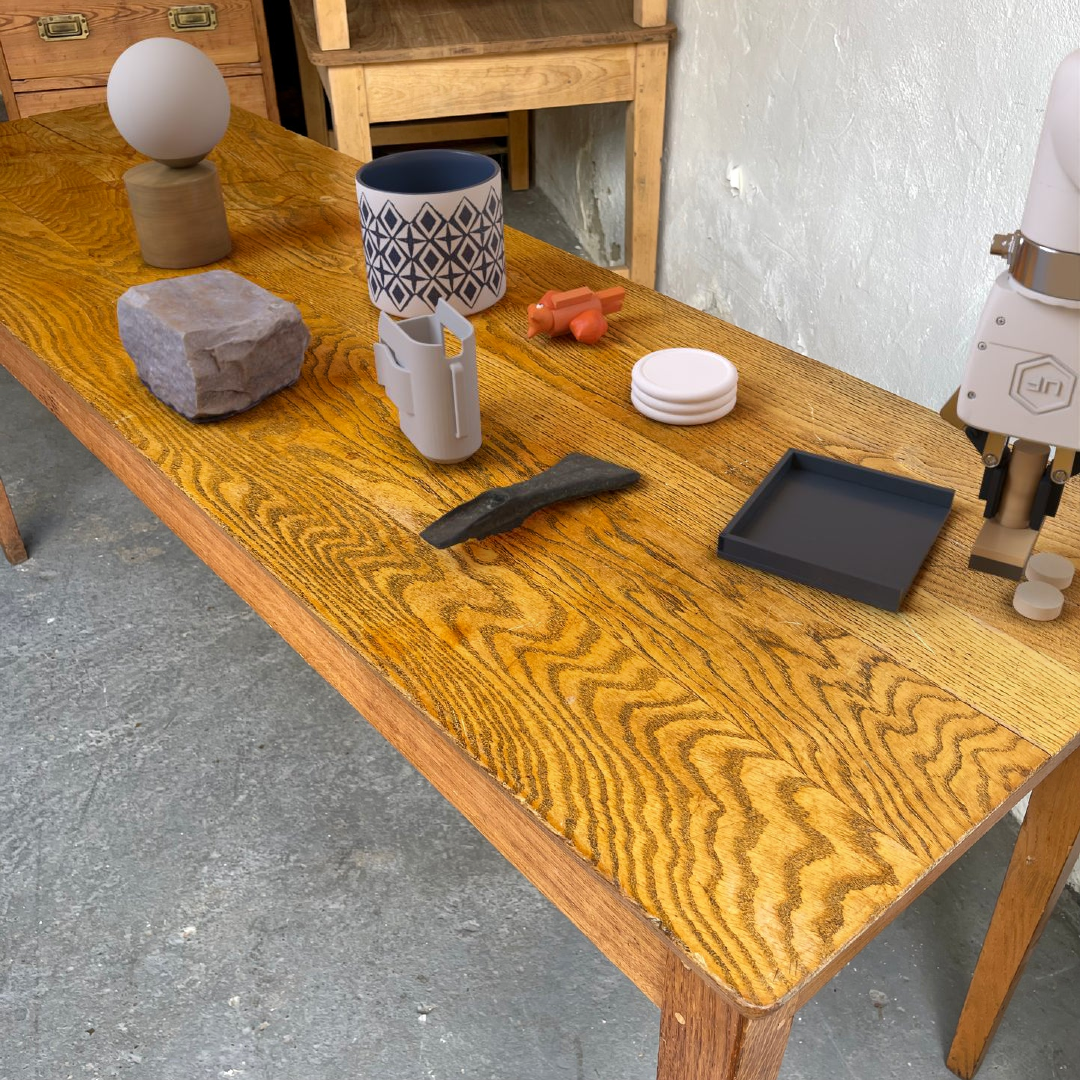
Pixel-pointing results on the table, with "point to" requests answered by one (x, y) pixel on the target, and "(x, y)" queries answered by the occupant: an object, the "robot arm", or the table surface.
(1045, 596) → the disc
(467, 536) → the tool
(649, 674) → the table surface
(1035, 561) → the disc
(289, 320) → the stone block
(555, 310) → the orange toy bird
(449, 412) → the cable organizer
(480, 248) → the planter
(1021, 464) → the brush
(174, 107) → the lamp
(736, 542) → the tray
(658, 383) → the coaster
